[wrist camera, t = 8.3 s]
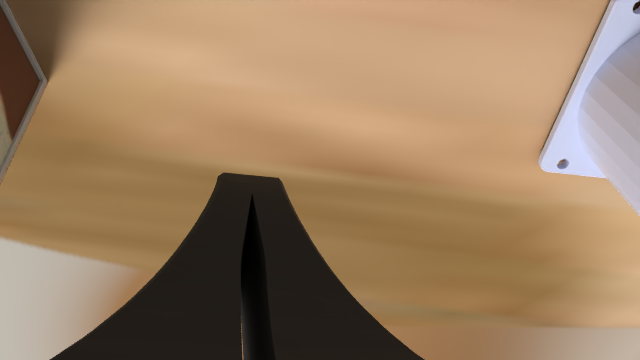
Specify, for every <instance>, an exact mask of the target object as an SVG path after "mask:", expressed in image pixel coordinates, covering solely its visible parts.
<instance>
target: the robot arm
mask: <svg viewBox="0 0 640 360" xmlns="http://www.w3.org/2000/svg"><path fill="white" fill-rule="evenodd" d="M638 1H640V0H611V1H610V3H609V6H608V8H607V10H606V12H605V14H604V16H603V19H602V21H601V23H600V25H599V27H598V30H597V32H596V34H595V36H594V38H593V41H592V43H591V45H590V47H589V49H588V51H587V54H586V56H585V58H584V60H583V62H582V65H581V67H580V69H579V71H578V73H577V76H576V78H575V80H574V82H573V84H572V86H571V89H570V91H569V93H568V95H567V97H566V100H565V102H564V104H563V106H562V108H561V111H560V113H559V115H558V117H557V119H556V121H555V124H554V126H553V128H552V130H551V132H550V135H549V137H548V139H547V141H546V143H545V146H544V148H543V150H542V152H541V154H540V156H539V160H538V163H539V165H540V167H541V168H542V169H543V170H544V171H546V172H553V173H562V174H572V175H581V176H590V177H600V178H607V179H608V180H609V181H610V182H611V183H612V185H613V186H614V187H615V188H616V189H617V190H618V191H619V193H620V194H621V195H622V196H623V197H624V198H625V200H626V201H627V202H628V203H629V204H630V205H631V207H632V208H633V209H634V210H635V211H636V212H637V214H638V215H639V216H640V6H639V7H638V8H637V9H636V10H633V6H634V5H635V3H636V2H638ZM562 159H565V160H564V162H563V163H561V164H558V162H559V161H561V160H562ZM241 322H242V335H241ZM241 336H242V337H241ZM241 338H242V339H243V356H244V360H424V359H423V358H421V357H420V356H418V355H417V354H415V353H414V352H413V351H411V350H410V349H409V348H408V347H407V346H406V345H404V344H403V343H402V342H401V341H399V340H398V339H397V338H396V337H395V336H393V335H392V334H391V333H390V332H389V331H388V330H386V329H385V328H384V327H383V326H382V325H381V324H380V323H379V322H378V321H377V320H376V319H375V318H374V317H373V316H372V315H371V314H370V313H369V312H368V311H366V310H365V309H364V308H363V307H362V306H361V305H360V304H359V302H358V301H357V300H356V299H355V298H354V297H353V296H352V295H351V294H350V292H349V291H348V290H347V289H346V288H345V286H344V285H343V284H342V283H341V282H340V280H339V279H338V278H337V277H336V275H335V274H334V273H333V271H332V270H331V269H330V267H329V266H328V265H327V263H326V262H325V260H324V259H323V257H322V256H321V254H320V253H319V251H318V250H317V248H316V247H315V245H314V244H313V242H312V240H311V239H310V237H309V235H308V234H307V232H306V230H305V229H304V227H303V225H302V223H301V222H300V220H299V218H298V216H297V214H296V212H295V210H294V208H293V206H292V204H291V202H290V200H289V198H288V195H287V193H286V191H285V188H284V186H283V183H282V182H281V180H280V179H279V178H274V177H263V176H253V175H243V174H233V173H222V174H221V175H219V176H218V179H217V183H216V186H215V188H214V191H213V193H212V195H211V197H210V199H209V201H208V203H207V205H206V207H205V209H204V210H203V212H202V213H201V215H200V217H199V218H198V220H197V222H196V223H195V225H194V226H193V228H192V229H191V231H190V232H189V234H188V235H187V236H186V238H185V239H184V240H183V242H182V243H181V245H180V246H179V247H178V249H177V250H176V251H175V253H174V254H173V255H172V256H171V257H170V259H169V260H168V261H167V262H166V263H165V265H164V266H163V267H162V268H161V269H160V270H159V271H158V272H157V273H156V275H155V276H154V277H153V278H152V279H151V280H150V281H149V282H148V283H147V284H146V285H145V286H144V287H143V288H142V289H141V290H140V291H139V292H138V293H137V294H136V295H135V296H134V297H133V298H131V299H130V300H129V301H128V302H127V303H126V304H125V305H124V306H123V307H121V308H120V309H119V310H118V311H116V312H115V313H114V314H113V315H111V316H110V317H109V318H108V319H106V320H105V321H104V322H103V323H101V324H100V325H99V326H98V327H97V328H95V329H94V330H93V331H91V332H90V333H89V334H87V335H86V336H85V337H83V338H82V339H80V340H79V341H77V342H76V343H74V344H73V345H72V346H70V347H68V348H67V349H65V350H64V351H62V352H61V353H60V354H58V355H56V356H55V357H53V358H52V359H50V360H242V339H241Z"/></svg>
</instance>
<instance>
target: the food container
mask: <svg viewBox="0 0 640 360" xmlns="http://www.w3.org/2000/svg"><path fill="white" fill-rule="evenodd" d="M47 84H48V81H47V79H46V77H45V76H44V74H43V72H42V70H41V68H40V66H39V64H38V62H37V60H36V58H35V56H34V54H33V52H32V50H31V48H30V46H29V44H28V43H27V41H26V39H25V37H24V35H23V33H22V31H21V29H20V27H19V25H18V23H17V21H16V19H15V17H14V15H13V13H12V11H11V9H10V8H9V6H8V4H7V2H6V0H0V184H1V182H2V180H3V178H4V176H5V173H6V171H7V169H8V167H9V165H10V163H11V161H12V158H13V156H14V154H15V152H16V150H17V148H18V146H19V144H20V141H21V139H22V137H23V135H24V133H25V131H26V129H27V126H28V124H29V122H30V120H31V118H32V116H33V114H34V112H35V109H36V107H37V105H38V103H39V101H40V99H41V97H42V94H43V92H44V90H45V88H46V86H47Z"/></svg>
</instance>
